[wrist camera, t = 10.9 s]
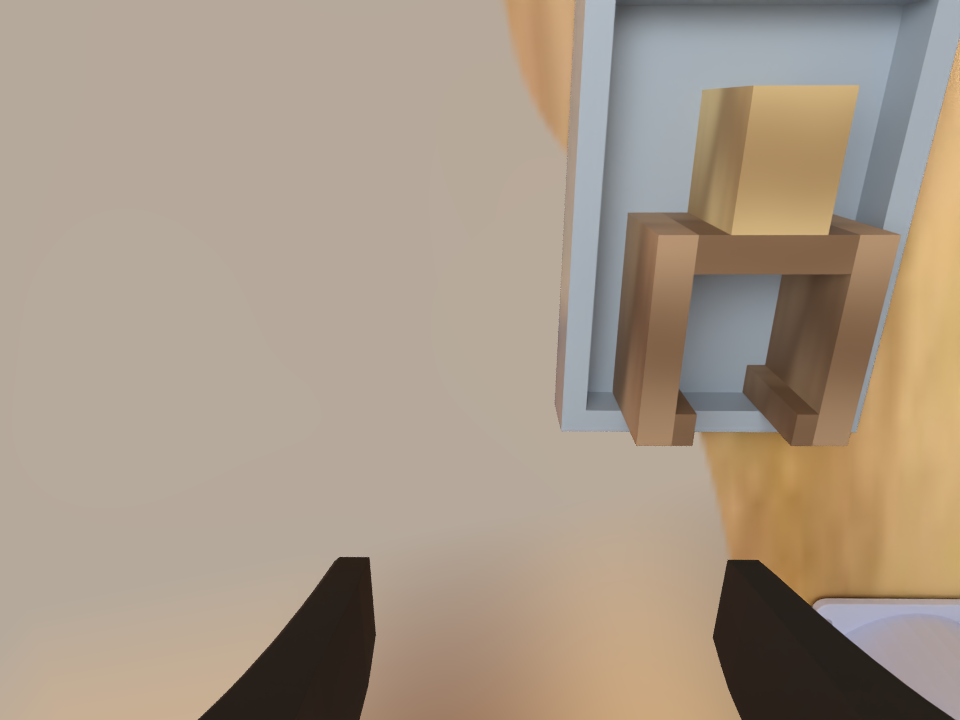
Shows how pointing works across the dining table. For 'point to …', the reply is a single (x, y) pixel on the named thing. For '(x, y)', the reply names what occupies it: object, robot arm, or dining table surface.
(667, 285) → the wooden stool frame
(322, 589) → the robot arm
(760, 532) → the dining table surface
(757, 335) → the tray
